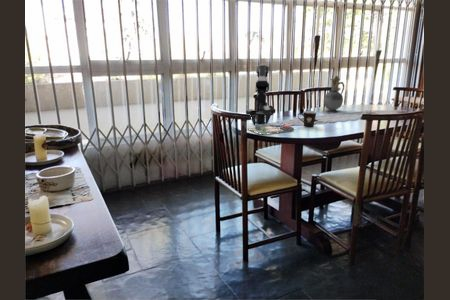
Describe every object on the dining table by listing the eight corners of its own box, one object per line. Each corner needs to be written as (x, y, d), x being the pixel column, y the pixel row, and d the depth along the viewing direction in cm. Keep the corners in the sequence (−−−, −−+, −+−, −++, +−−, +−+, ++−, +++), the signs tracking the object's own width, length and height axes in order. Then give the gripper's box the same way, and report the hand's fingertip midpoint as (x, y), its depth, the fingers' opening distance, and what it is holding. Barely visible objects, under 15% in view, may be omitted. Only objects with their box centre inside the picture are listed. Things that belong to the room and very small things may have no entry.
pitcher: (320, 110, 281) (324, 75, 272) (336, 109, 290) (340, 74, 281) (330, 113, 272) (334, 76, 263) (346, 111, 281) (350, 75, 272)
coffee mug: (317, 126, 225) (318, 112, 222) (311, 128, 219) (312, 113, 216) (302, 123, 233) (303, 109, 230) (296, 125, 226) (297, 111, 223)
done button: (281, 128, 214) (282, 125, 213) (287, 127, 216) (287, 124, 215) (286, 129, 210) (286, 126, 209) (291, 129, 212) (292, 126, 211)
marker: (255, 128, 212) (255, 125, 212) (258, 128, 213) (258, 124, 213) (262, 131, 205) (262, 128, 204) (265, 131, 206) (265, 127, 205)
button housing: (279, 129, 214) (280, 126, 214) (287, 128, 217) (287, 125, 217) (285, 132, 209) (285, 129, 208) (293, 130, 212) (293, 128, 211)
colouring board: (247, 129, 214) (247, 127, 214) (270, 127, 222) (270, 125, 221) (260, 135, 201) (260, 133, 200) (284, 132, 208) (284, 130, 208)
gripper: (255, 103, 192) (254, 128, 197) (281, 101, 200) (279, 125, 205) (246, 100, 202) (245, 125, 207) (271, 98, 210) (269, 122, 215)
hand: (260, 124), depth 208 cm, fingers open, 9 cm apart
